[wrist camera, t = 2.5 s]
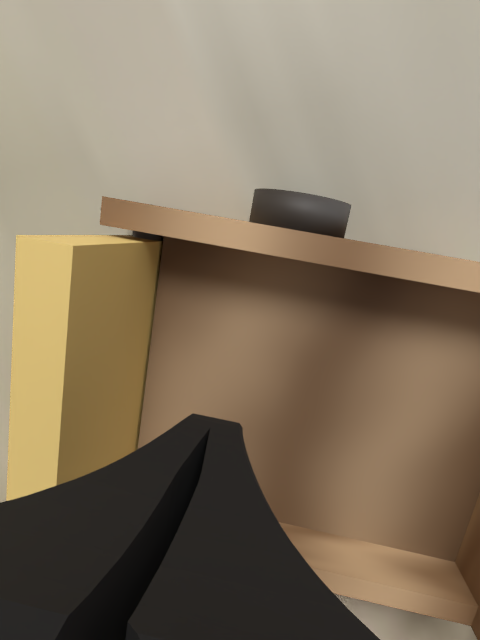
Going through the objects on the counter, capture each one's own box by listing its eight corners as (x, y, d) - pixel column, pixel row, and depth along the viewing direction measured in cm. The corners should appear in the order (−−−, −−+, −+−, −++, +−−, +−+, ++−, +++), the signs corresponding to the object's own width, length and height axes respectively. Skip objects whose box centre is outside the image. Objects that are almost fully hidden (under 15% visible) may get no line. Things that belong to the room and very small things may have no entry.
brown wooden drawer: (568, 247, 13) (739, 255, 8) (449, 578, 16) (521, 727, 11) (142, 175, 14) (66, 143, 9) (107, 499, 17) (37, 605, 12)
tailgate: (168, 235, 14) (74, 235, 8) (138, 472, 16) (46, 624, 10) (136, 229, 14) (17, 225, 8) (111, 466, 16) (2, 612, 10)
